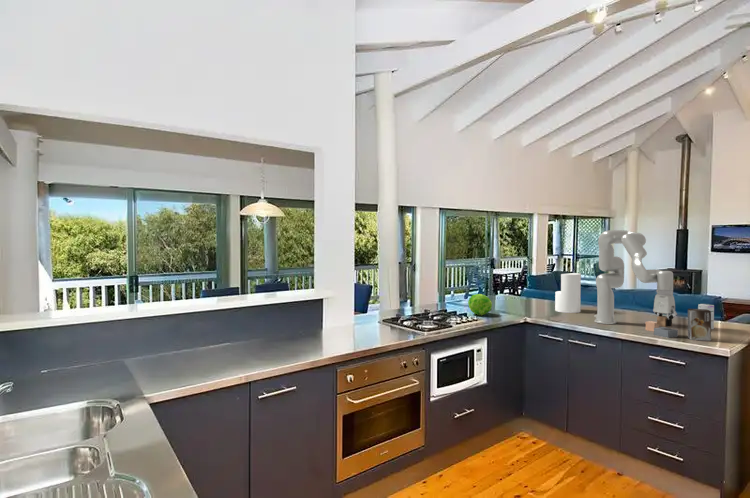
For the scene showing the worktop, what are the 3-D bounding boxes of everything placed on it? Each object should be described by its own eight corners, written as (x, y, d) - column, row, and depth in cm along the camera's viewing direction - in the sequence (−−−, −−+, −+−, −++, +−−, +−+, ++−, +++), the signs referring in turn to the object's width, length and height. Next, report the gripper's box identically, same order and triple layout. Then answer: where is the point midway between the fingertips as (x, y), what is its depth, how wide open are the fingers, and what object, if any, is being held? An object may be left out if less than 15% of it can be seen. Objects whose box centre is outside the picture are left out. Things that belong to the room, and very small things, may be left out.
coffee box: (707, 338, 240) (707, 309, 240) (711, 341, 234) (711, 311, 234) (687, 337, 243) (687, 308, 243) (690, 339, 237) (691, 310, 237)
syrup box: (714, 329, 264) (714, 304, 264) (706, 329, 263) (707, 305, 262) (704, 327, 270) (705, 303, 269) (697, 327, 268) (697, 303, 268)
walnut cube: (656, 325, 250) (657, 316, 250) (664, 324, 251) (664, 316, 251) (664, 327, 245) (664, 318, 245) (672, 326, 246) (672, 317, 246)
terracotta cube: (645, 330, 263) (645, 321, 263) (650, 329, 265) (650, 320, 265) (654, 331, 258) (654, 323, 258) (659, 330, 261) (659, 322, 261)
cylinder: (585, 311, 329) (585, 273, 328) (571, 313, 319) (572, 274, 318) (563, 308, 343) (564, 272, 342) (550, 310, 333) (550, 273, 333)
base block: (653, 335, 250) (653, 328, 250) (663, 334, 253) (663, 327, 253) (667, 338, 243) (667, 331, 242) (677, 337, 246) (677, 329, 245)
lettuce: (492, 316, 323) (494, 295, 324) (488, 318, 305) (491, 296, 305) (469, 312, 329) (471, 292, 330) (464, 314, 311) (467, 292, 311)
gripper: (646, 291, 255) (646, 322, 255) (673, 295, 238) (672, 328, 239) (657, 290, 257) (657, 322, 257) (684, 294, 240) (683, 327, 241)
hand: (664, 324), depth 248 cm, fingers closed on walnut cube, 4 cm apart
